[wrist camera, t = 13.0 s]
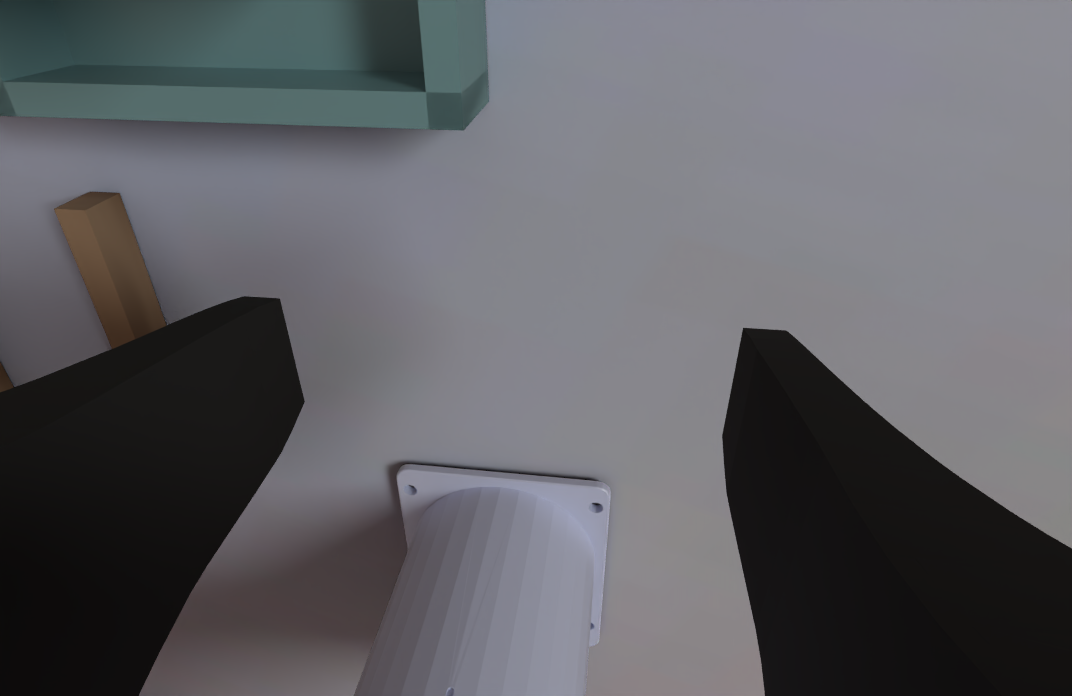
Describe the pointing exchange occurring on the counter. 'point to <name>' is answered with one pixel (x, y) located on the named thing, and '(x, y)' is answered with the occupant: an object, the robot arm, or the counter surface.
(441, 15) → the tray
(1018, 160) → the counter surface
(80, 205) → the bay
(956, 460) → the counter surface
